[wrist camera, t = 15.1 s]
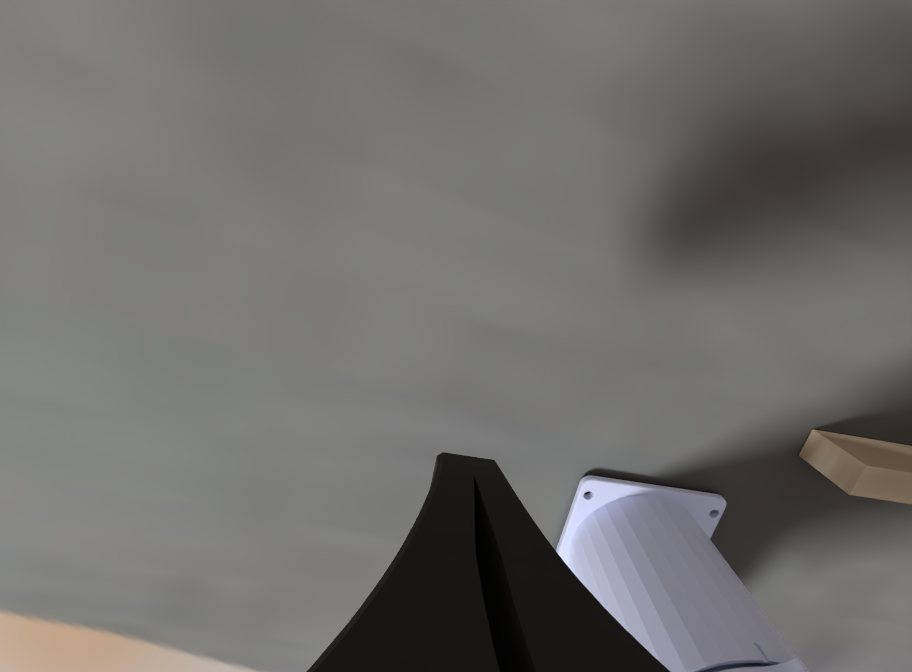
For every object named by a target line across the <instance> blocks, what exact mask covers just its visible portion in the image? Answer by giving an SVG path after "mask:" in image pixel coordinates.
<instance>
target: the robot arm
mask: <svg viewBox="0 0 912 672" xmlns="http://www.w3.org/2000/svg"><path fill="white" fill-rule="evenodd" d="M588 491H590V493H589V494H584V493H585V492H588ZM726 505H727V503H726V501H725V499H724V498H723V497H722V496H721V495H718V494H713V493H706V492H700V491H693V490H686V489H680V488H673V487H666V486H660V485H653V484H646V483H640V482H633V481H626V480H619V479H613V478H606V477H599V476H593V475H588V476H585V477H584V478H582V479H581V481H580V483H579V486H578V489H577V492H576V495H575V497H574V500H573V503H572V506H571V509H570V512H569V515H568V517H567V520H566V523H565V526H564V529H563V532H562V535H561V538H560V540H559V543H558V546H557V549H556V551H555V549H554V548H553V547H552V546H551V544H550V543H549V542H548V540H547V539H546V538H545V536H544V535H543V533H542V532H541V531H540V529H539V528H538V526H537V525H536V523H535V522H534V521H533V519H532V518H531V516H530V515H529V513H528V512H527V510H526V509H525V507H524V506H523V504H522V503H521V501H520V500H519V498H518V497H517V495H516V494H515V492H514V490H513V489H512V487H511V486H510V484H509V482H508V481H507V479H506V478H505V476H504V474H503V473H502V471H501V470H500V468H499V466H498V465H497V463H496V462H495V460H490V459H484V458H477V457H470V456H464V455H457V454H450V453H444V452H443V453H441V454H439V455H438V456H437V459H436V463H435V468H434V473H433V478H432V482H431V487H430V491H429V493H428V495H427V498H426V500H425V502H424V505H423V507H422V509H421V511H420V513H419V515H418V517H417V519H416V521H415V523H414V525H413V527H412V529H411V530H410V532H409V534H408V536H407V538H406V540H405V542H404V543H403V545H402V547H401V548H400V550H399V552H398V553H397V555H396V557H395V558H394V560H393V561H392V563H391V564H390V566H389V567H388V569H387V571H386V572H385V574H384V575H383V577H382V578H381V580H380V581H379V582H378V584H377V585H376V587H375V588H374V589H373V591H372V592H371V593H370V595H369V596H368V598H367V599H366V600H365V602H364V603H363V604H362V606H361V607H360V608H359V610H358V611H357V612H356V614H355V615H354V616H353V618H352V619H351V620H350V621H349V623H348V624H347V625H346V626H345V627H344V629H343V630H342V631H341V632H340V633H339V635H338V636H337V637H336V638H335V639H334V640H333V642H332V643H331V644H330V645H329V646H328V648H327V649H326V650H325V651H324V652H323V653H322V655H321V656H320V657H319V658H318V659H317V661H316V662H315V663H314V664H313V665H312V666H311V668H310V669H309V670H308V671H307V672H810V671H809V670H808V668H807V667H806V666H805V665H804V663H803V662H802V661H801V660H800V659H799V658H798V657H797V656H796V655H795V653H794V652H793V651H792V649H791V648H790V647H789V645H788V644H787V643H786V641H785V640H784V639H783V637H782V636H781V634H780V633H779V632H778V630H777V629H776V628H775V626H774V625H773V624H772V622H771V621H770V620H769V618H768V617H767V616H766V614H765V613H764V612H763V610H762V609H761V607H760V606H759V605H758V603H757V602H756V601H755V599H754V598H753V597H752V595H751V594H750V593H749V591H748V590H747V589H746V587H745V586H744V585H743V583H742V582H741V581H740V579H739V578H738V576H737V575H736V574H735V572H734V571H733V570H732V568H731V567H730V566H729V564H728V563H727V562H726V560H725V559H724V558H723V556H722V555H721V554H720V552H719V551H718V550H717V548H716V547H715V545H714V544H713V543H712V541H711V540H710V538H711V536H712V534H713V532H714V530H715V528H716V526H717V524H718V522H719V520H720V518H721V516H722V514H723V512H724V510H725V508H726ZM712 510H713V511H712ZM711 511H712V512H711Z"/></svg>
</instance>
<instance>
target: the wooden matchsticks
mask: <svg viewBox="0 0 912 672" xmlns="http://www.w3.org/2000/svg"><path fill="white" fill-rule="evenodd" d="M799 456H800V457H801V458H802V459H804V460H805V461H806V462H808V463H809V464H810V465H811V466H813V467H814V468H815V469H817V470H818V471H819V472H820V473H822V474H823V475H824V476H826V477H827V478H828V479H829V480H831V481H832V482H833V483H835V484H836V485H837V486H839V487H840V488H841V489H842V490H844V491H845V492H846V493H848V494H849V495H854V496H861V497H867V498H874V499H880V500H887V501H893V502H900V503H906V504H912V446H910V445H904V444H898V443H892V442H886V441H880V440H874V439H868V438H862V437H856V436H850V435H844V434H838V433H832V432H826V431H820V430H814V429H812V431H811V433H810V435H809V437H808V439H807V440H806V442H805V444H804V446H803V448H802V450H801V452H800V453H799Z"/></svg>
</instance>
